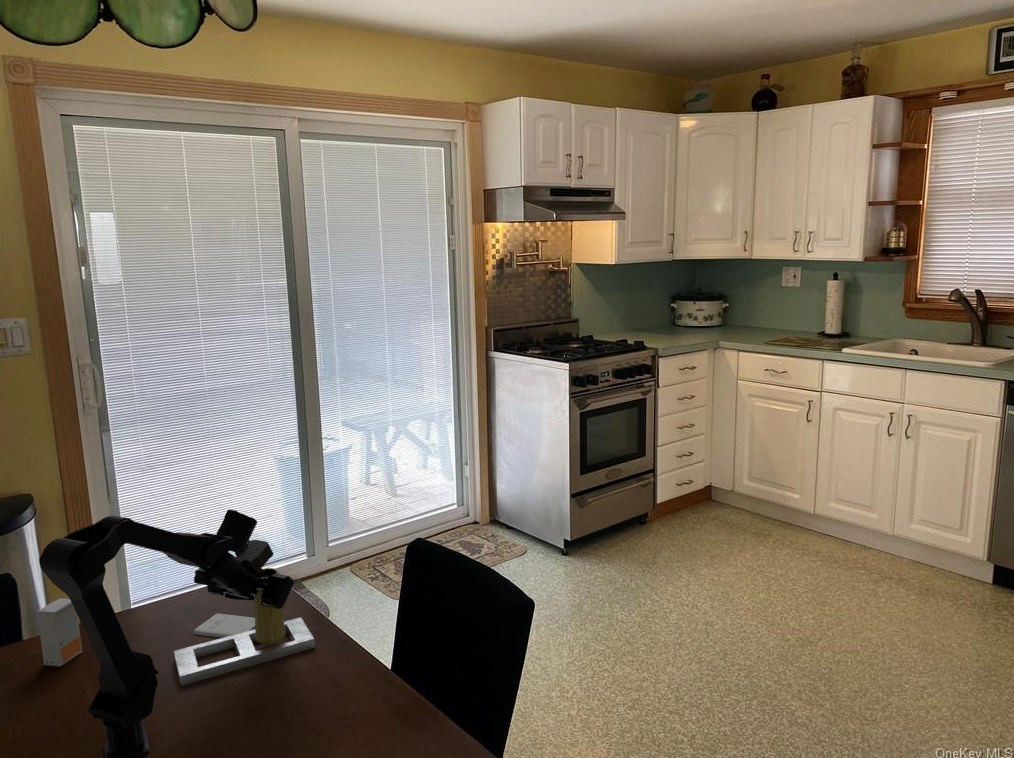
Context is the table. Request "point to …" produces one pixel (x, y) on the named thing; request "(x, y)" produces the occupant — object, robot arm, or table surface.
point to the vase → (268, 617)
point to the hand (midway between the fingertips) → (272, 600)
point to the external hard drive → (225, 625)
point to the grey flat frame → (239, 652)
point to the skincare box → (59, 632)
